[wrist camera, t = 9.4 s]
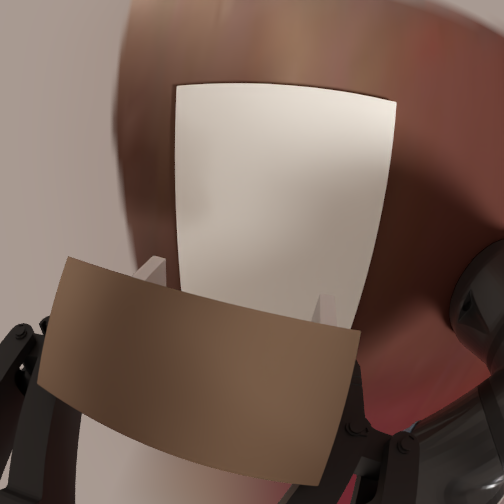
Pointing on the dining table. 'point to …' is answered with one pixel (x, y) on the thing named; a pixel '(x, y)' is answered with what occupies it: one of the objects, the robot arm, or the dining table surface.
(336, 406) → the walnut plaque
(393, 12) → the dining table surface
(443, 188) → the dining table surface
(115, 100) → the dining table surface
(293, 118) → the cream white flat board
